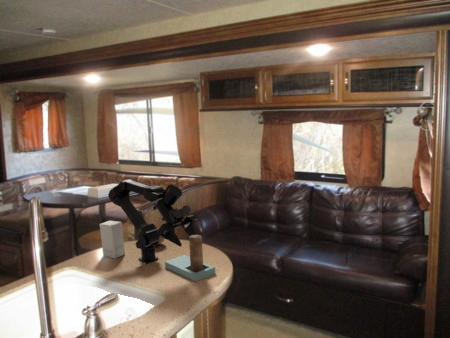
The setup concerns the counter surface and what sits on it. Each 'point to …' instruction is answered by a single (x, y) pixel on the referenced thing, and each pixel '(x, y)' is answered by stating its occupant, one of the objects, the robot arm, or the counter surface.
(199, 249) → the pepper mill
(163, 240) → the onion
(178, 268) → the socket stand
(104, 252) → the skincare box
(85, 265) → the counter surface
